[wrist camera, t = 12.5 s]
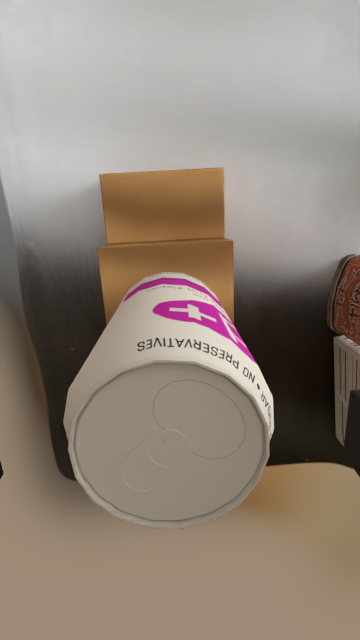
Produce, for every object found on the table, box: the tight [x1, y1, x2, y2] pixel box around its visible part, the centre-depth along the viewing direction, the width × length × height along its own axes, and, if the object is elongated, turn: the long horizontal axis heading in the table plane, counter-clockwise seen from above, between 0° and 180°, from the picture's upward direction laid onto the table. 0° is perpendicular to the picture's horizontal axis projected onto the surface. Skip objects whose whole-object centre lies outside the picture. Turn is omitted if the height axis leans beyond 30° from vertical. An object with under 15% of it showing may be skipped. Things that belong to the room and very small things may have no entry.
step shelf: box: [97, 168, 234, 325], centre depth 28 cm, size 23×10×12 cm, turn 3°
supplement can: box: [63, 272, 274, 529], centre depth 19 cm, size 8×8×15 cm
